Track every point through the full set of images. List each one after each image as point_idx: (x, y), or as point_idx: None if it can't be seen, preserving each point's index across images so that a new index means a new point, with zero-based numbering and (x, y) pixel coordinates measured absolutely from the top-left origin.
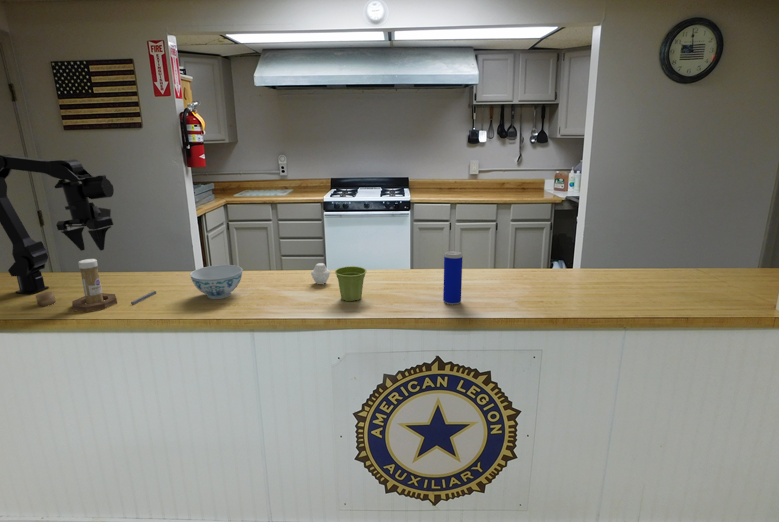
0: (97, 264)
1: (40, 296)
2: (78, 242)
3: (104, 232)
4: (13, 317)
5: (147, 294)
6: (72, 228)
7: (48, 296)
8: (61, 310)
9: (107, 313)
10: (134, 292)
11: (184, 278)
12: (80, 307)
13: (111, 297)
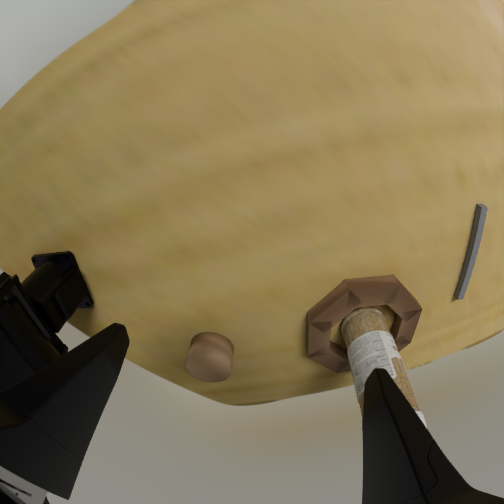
0: (422, 415)
1: (214, 379)
2: (95, 397)
3: (458, 494)
4: (230, 400)
5: (477, 240)
6: (23, 486)
7: (230, 372)
8: (300, 366)
9: (423, 346)
10: (417, 207)
11: (474, 34)
12: None
13: (405, 308)
